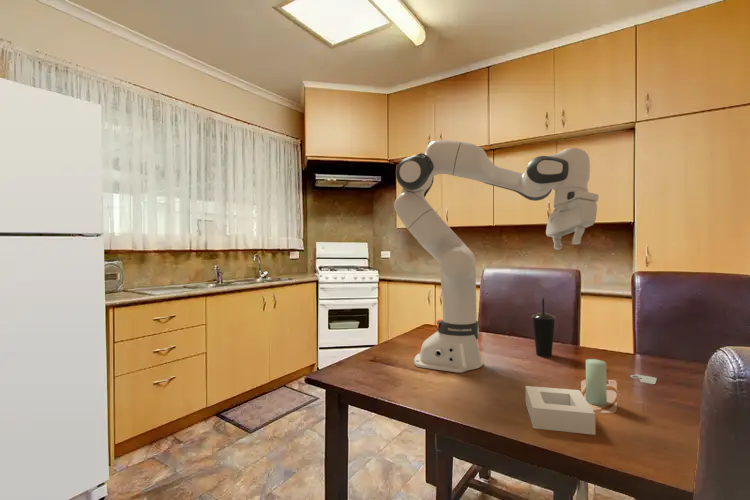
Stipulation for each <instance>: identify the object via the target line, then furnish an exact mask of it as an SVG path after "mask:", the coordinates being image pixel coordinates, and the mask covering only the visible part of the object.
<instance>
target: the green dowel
mask: <svg viewBox="0 0 750 500" xmlns="http://www.w3.org/2000/svg"><path fill="white" fill-rule="evenodd" d="M607 384H608V382H607V362H606V361H604V360H602V359H601V360H600V359H596V358H588V359H586V360H585V399H586V401H587V402H588V404H590V405H594V406H601V407H603V406H606V405H608V403H607V402H608V401H607V399H608V398H607V395H608V394H607Z"/></svg>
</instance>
